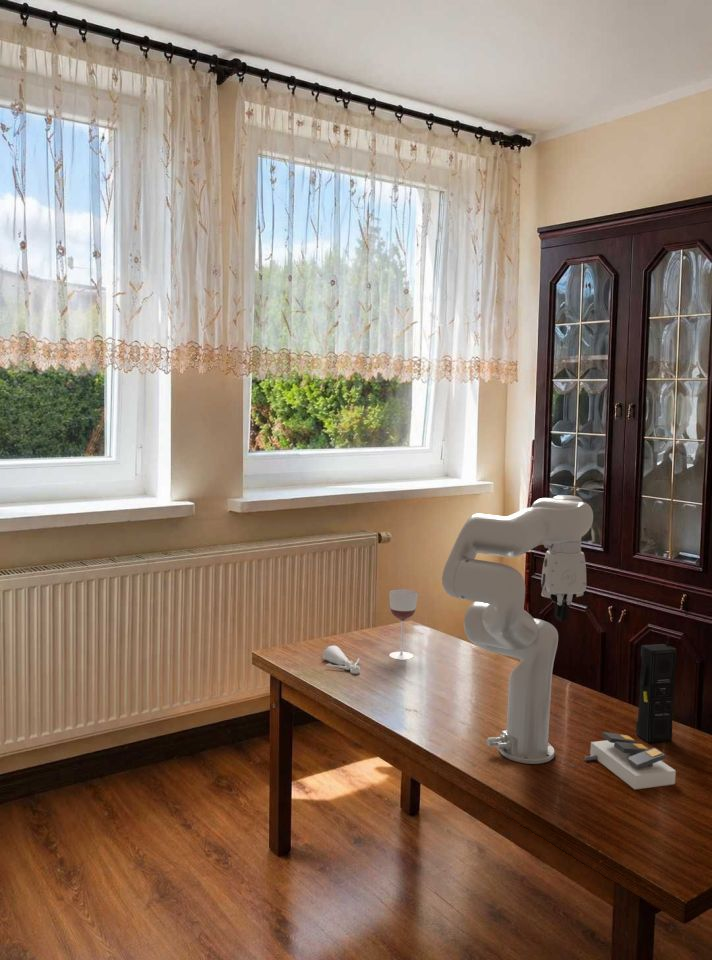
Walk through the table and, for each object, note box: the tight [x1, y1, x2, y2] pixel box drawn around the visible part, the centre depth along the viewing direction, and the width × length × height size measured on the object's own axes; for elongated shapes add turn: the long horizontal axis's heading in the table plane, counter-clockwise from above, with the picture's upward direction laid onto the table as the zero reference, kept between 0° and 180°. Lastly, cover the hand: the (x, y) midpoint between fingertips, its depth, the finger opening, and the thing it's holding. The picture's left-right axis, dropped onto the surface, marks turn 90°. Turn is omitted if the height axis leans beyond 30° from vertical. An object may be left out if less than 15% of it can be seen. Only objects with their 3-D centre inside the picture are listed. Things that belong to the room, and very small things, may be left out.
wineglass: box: [388, 588, 419, 661], centre depth 258 cm, size 8×9×20 cm
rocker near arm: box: [601, 731, 638, 743], centre depth 190 cm, size 7×4×2 cm, turn 107°
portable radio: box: [635, 635, 677, 744], centre depth 201 cm, size 8×6×25 cm
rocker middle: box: [614, 742, 650, 756], centre depth 186 cm, size 7×4×2 cm, turn 107°
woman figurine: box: [322, 645, 361, 675], centre depth 249 cm, size 12×4×18 cm
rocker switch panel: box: [584, 739, 677, 790], centre depth 186 cm, size 13×17×3 cm
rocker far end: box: [627, 747, 666, 769], centre depth 181 cm, size 7×4×2 cm, turn 106°
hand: (561, 619), depth 205 cm, fingers closed
